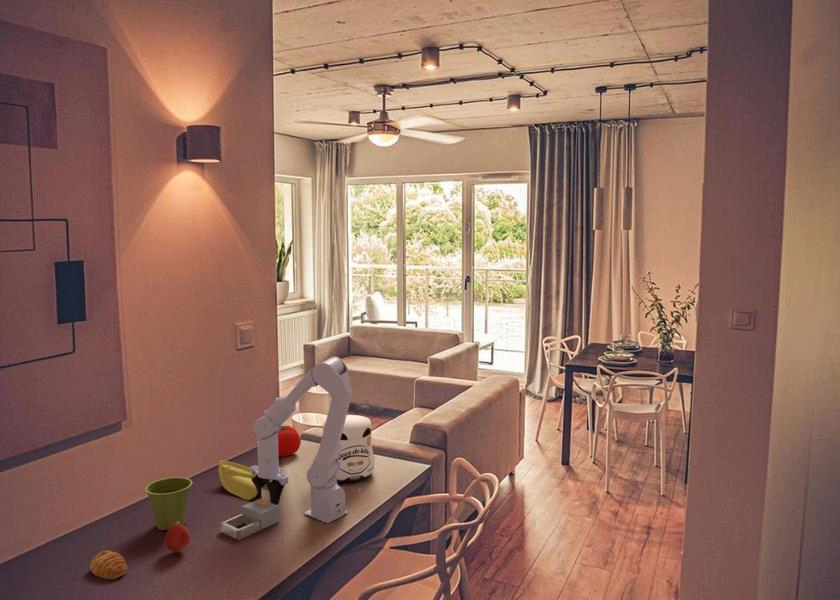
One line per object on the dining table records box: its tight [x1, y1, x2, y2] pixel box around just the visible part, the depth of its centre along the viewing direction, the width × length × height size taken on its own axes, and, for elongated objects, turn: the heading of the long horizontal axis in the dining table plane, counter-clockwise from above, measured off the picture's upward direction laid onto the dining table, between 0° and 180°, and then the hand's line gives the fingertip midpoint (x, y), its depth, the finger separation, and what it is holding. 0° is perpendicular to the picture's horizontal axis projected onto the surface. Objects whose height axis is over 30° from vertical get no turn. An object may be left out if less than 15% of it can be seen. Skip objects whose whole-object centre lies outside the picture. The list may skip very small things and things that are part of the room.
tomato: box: [278, 425, 302, 457], centre depth 223 cm, size 11×13×10 cm
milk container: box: [322, 414, 376, 483], centre depth 204 cm, size 17×17×18 cm
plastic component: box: [218, 459, 272, 501], centre depth 195 cm, size 20×7×10 cm
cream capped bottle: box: [261, 484, 279, 506], centre depth 180 cm, size 4×4×7 cm
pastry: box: [89, 550, 128, 580], centre depth 147 cm, size 9×7×4 cm
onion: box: [164, 522, 191, 554], centre depth 156 cm, size 6×6×8 cm
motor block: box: [241, 498, 280, 529], centre depth 172 cm, size 8×6×5 cm
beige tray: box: [219, 512, 261, 541], centre depth 167 cm, size 8×8×2 cm
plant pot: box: [144, 476, 193, 531], centre depth 170 cm, size 12×12×11 cm
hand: (269, 502), depth 181 cm, fingers closed on cream capped bottle, 4 cm apart
